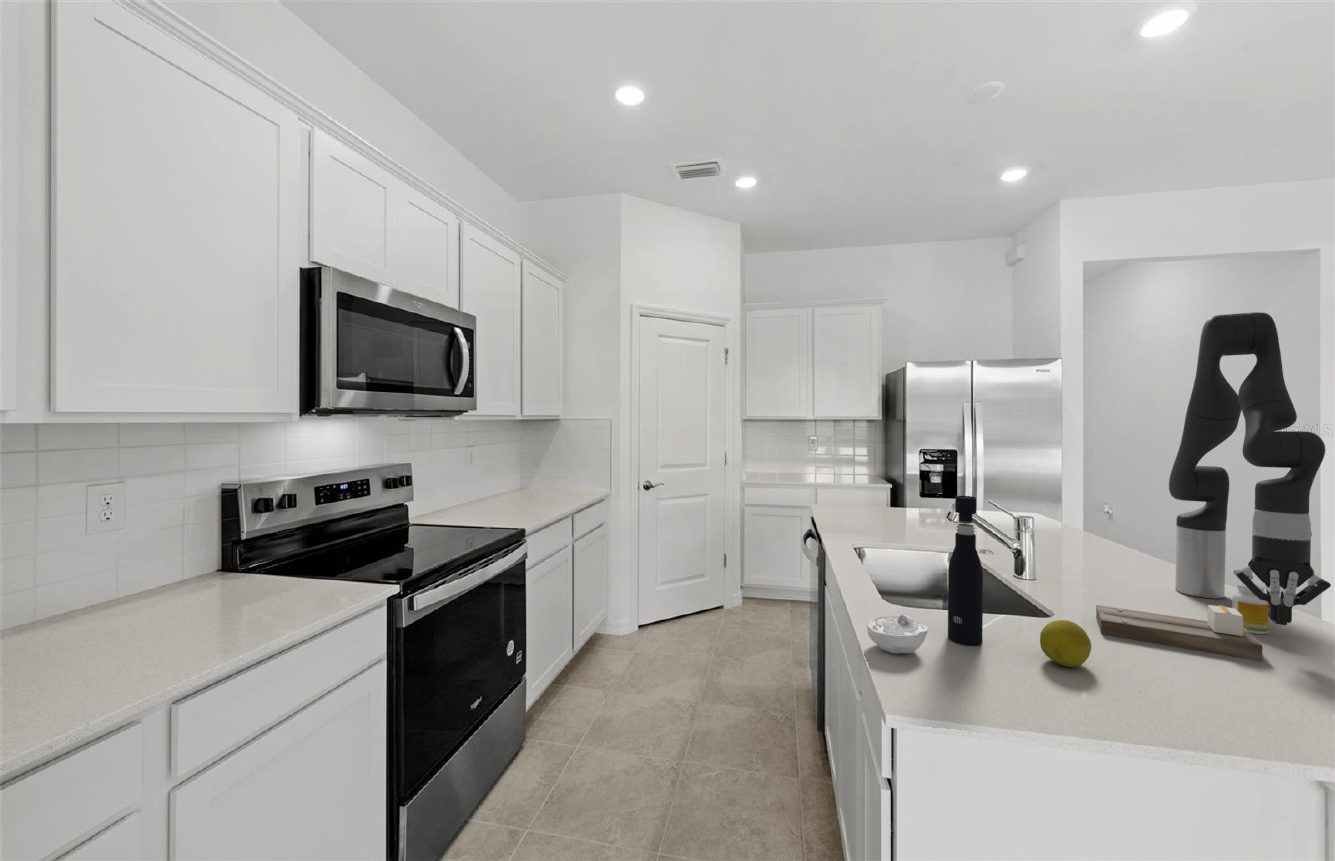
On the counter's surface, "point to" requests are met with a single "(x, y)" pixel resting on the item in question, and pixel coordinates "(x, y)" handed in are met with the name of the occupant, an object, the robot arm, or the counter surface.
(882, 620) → the cell model
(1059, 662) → the lemon
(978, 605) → the black water bottle
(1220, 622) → the block
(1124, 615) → the brown flat piece
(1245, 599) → the supplement bottle
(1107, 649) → the counter surface
